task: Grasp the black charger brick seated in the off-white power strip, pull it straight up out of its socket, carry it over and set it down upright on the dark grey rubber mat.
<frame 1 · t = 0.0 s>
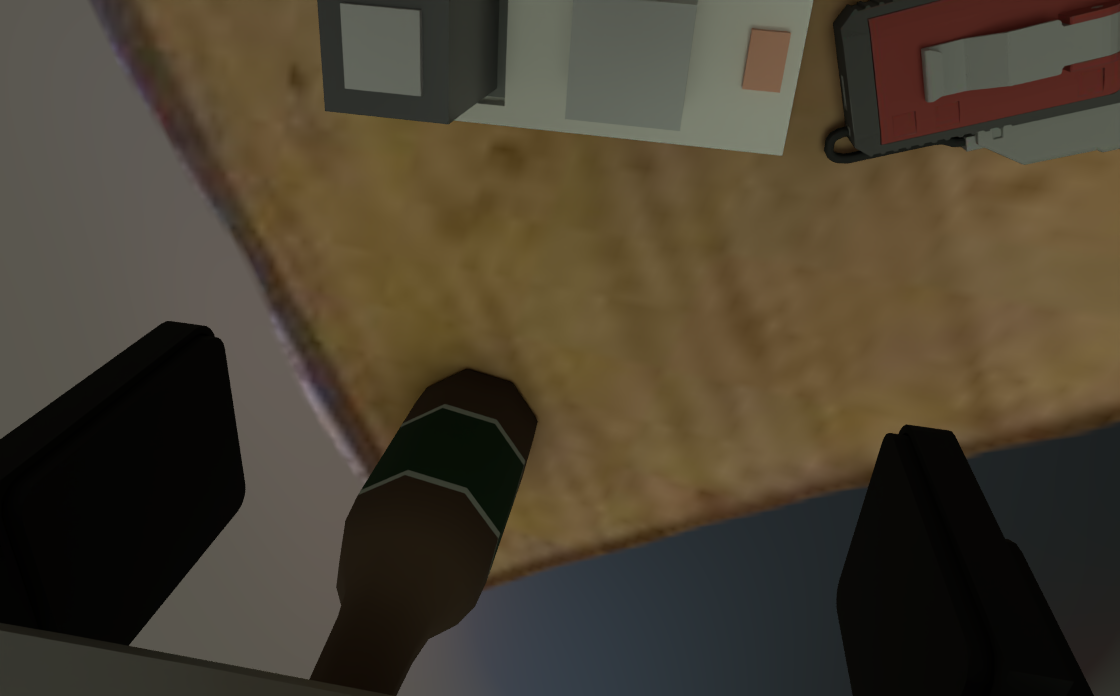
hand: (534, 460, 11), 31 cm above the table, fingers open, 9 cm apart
walkie-talkie: (1047, 51, 36), on the table
charger: (445, 26, 37), point 2 cm above the table, touching power strip
beer bottle: (480, 418, 50), on the table
power strip: (580, 33, 38), on the table
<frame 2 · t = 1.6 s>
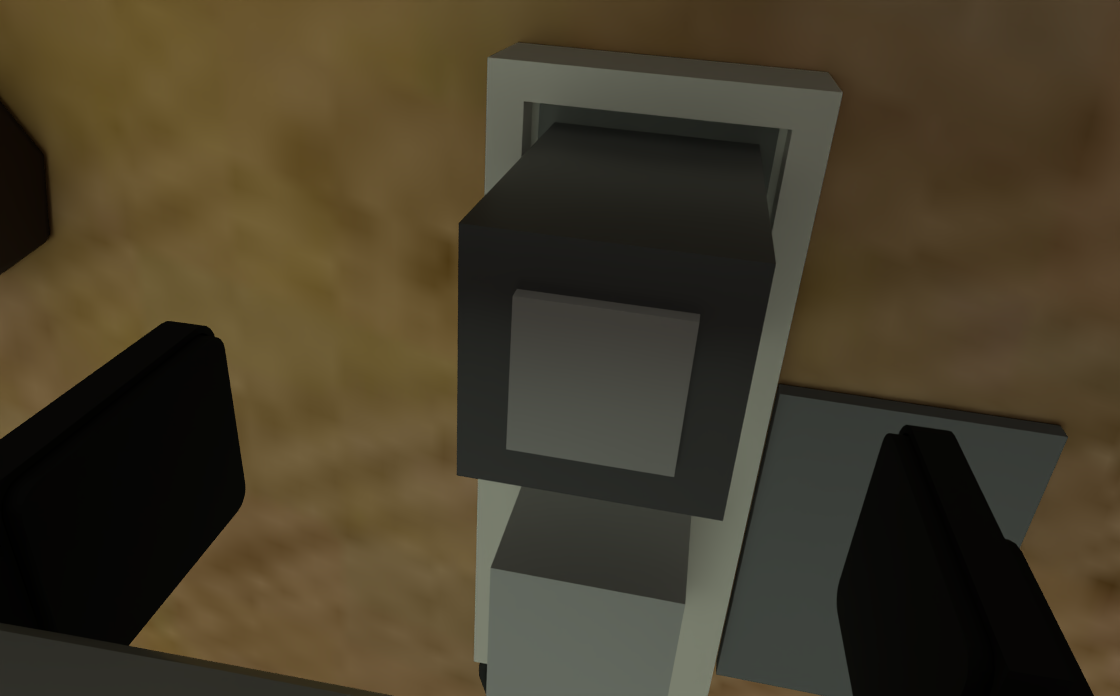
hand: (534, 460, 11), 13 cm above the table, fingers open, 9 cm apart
mat: (866, 558, 26), on the table
charger: (643, 230, 21), point 2 cm above the table, touching power strip
power strip: (627, 389, 25), on the table
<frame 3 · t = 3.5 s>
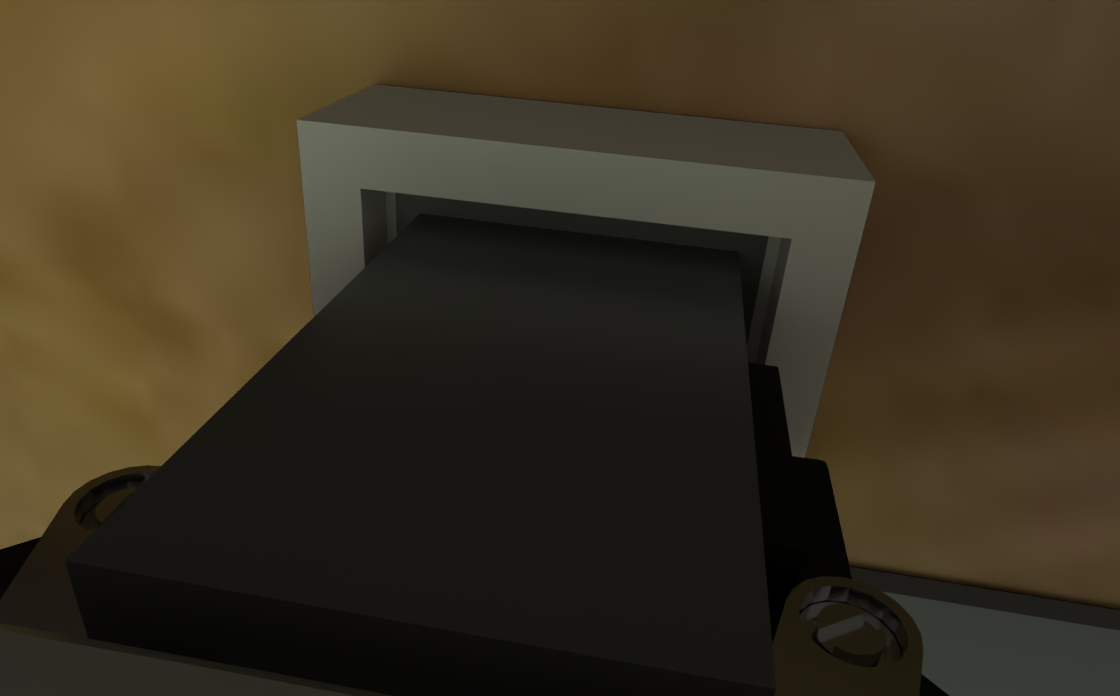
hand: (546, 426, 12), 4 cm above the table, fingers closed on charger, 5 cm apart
charger: (564, 371, 14), point 2 cm above the table, touching gripper, power strip
power strip: (561, 554, 18), on the table
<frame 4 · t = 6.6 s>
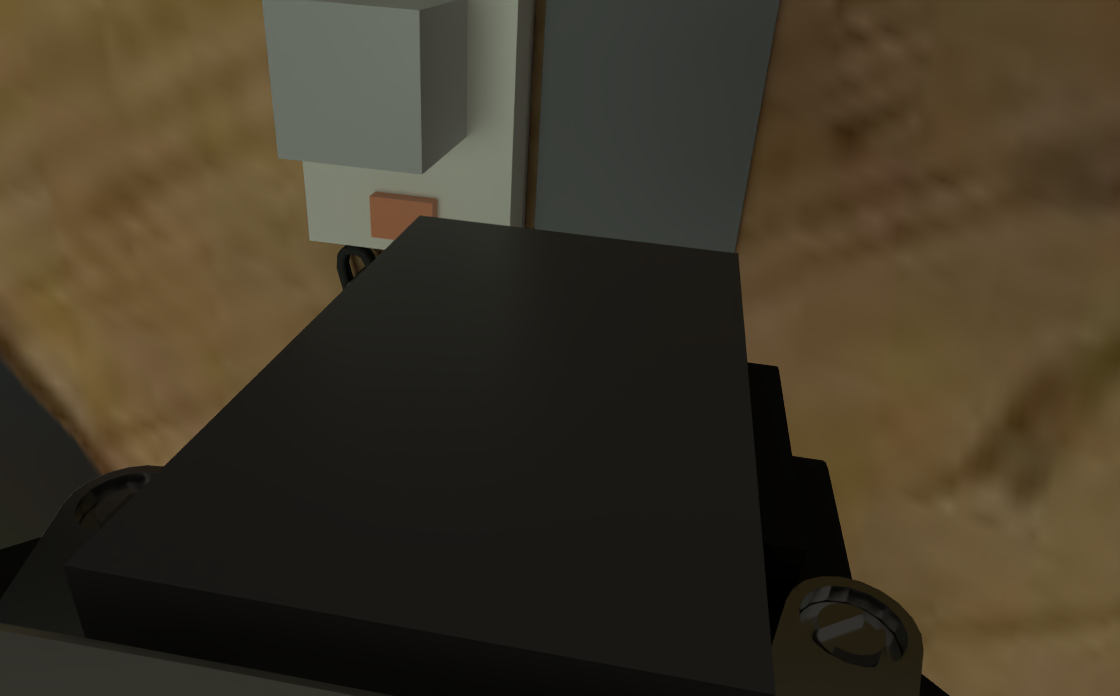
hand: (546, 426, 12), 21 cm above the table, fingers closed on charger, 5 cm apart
mat: (646, 128, 30), on the table
walkie-talkie: (450, 424, 39), on the table
charger: (564, 373, 14), point 19 cm above the table, touching gripper
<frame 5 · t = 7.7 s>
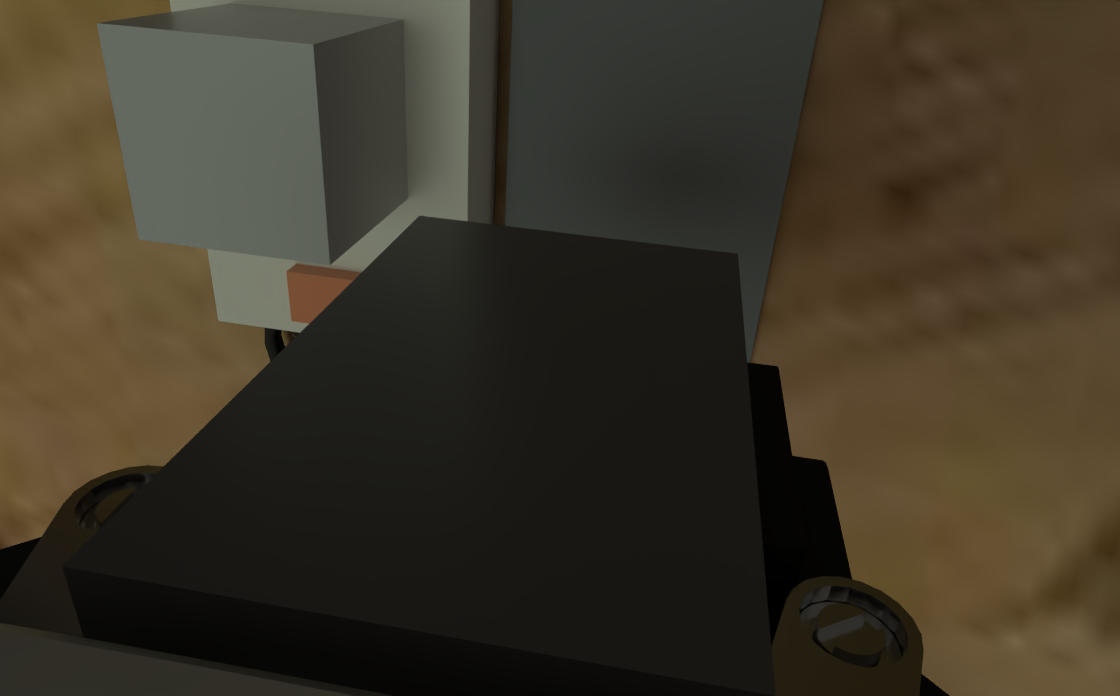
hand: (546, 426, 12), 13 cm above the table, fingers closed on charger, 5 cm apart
mat: (643, 183, 24), on the table
walkie-talkie: (410, 521, 32), on the table
charger: (564, 373, 14), point 12 cm above the table, touching gripper
when the fingers open (4 cm above the table, at t = 9.8 s): charger drops 2 cm, resting on mat.
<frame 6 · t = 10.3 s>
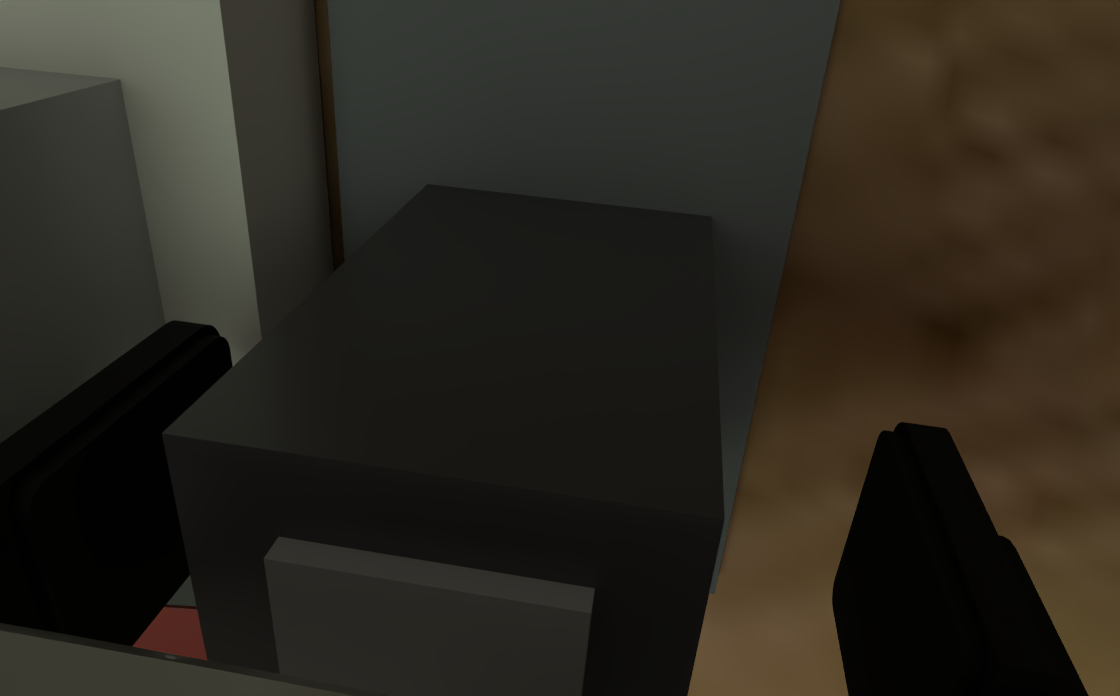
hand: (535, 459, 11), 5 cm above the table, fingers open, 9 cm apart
mat: (555, 312, 16), on the table
charger: (557, 328, 15), point 1 cm above the table, touching mat
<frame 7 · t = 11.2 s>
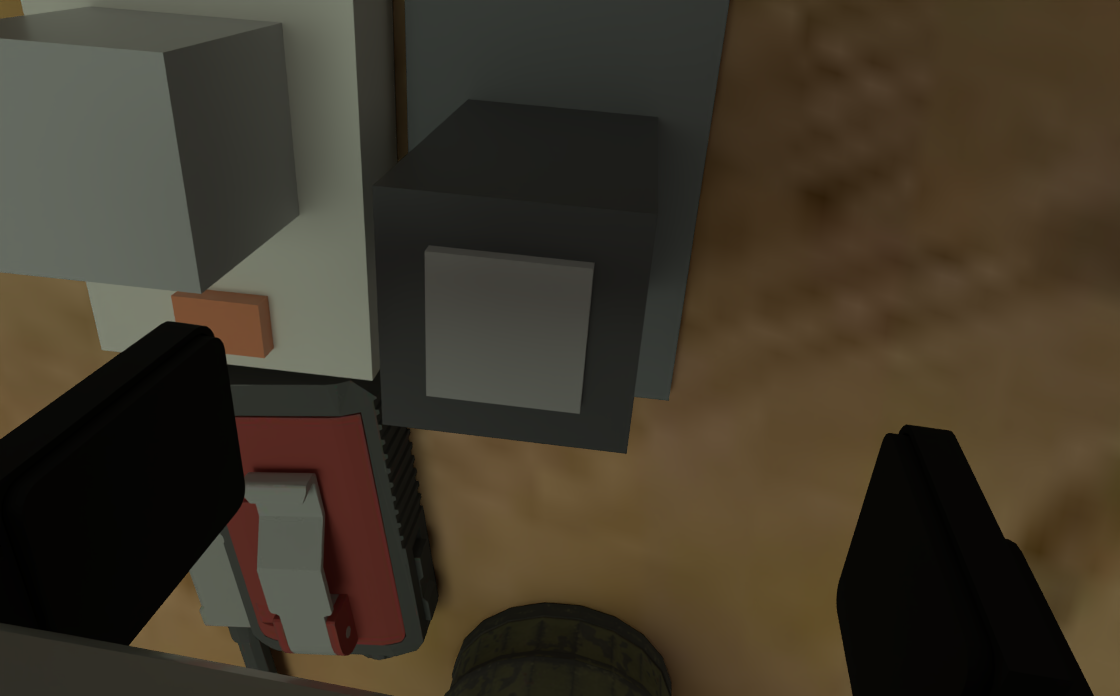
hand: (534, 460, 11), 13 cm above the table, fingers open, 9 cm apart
mat: (553, 192, 23), on the table
walkie-talkie: (328, 541, 31), on the table
charger: (556, 200, 22), point 1 cm above the table, touching mat
thermos: (560, 679, 32), on the table
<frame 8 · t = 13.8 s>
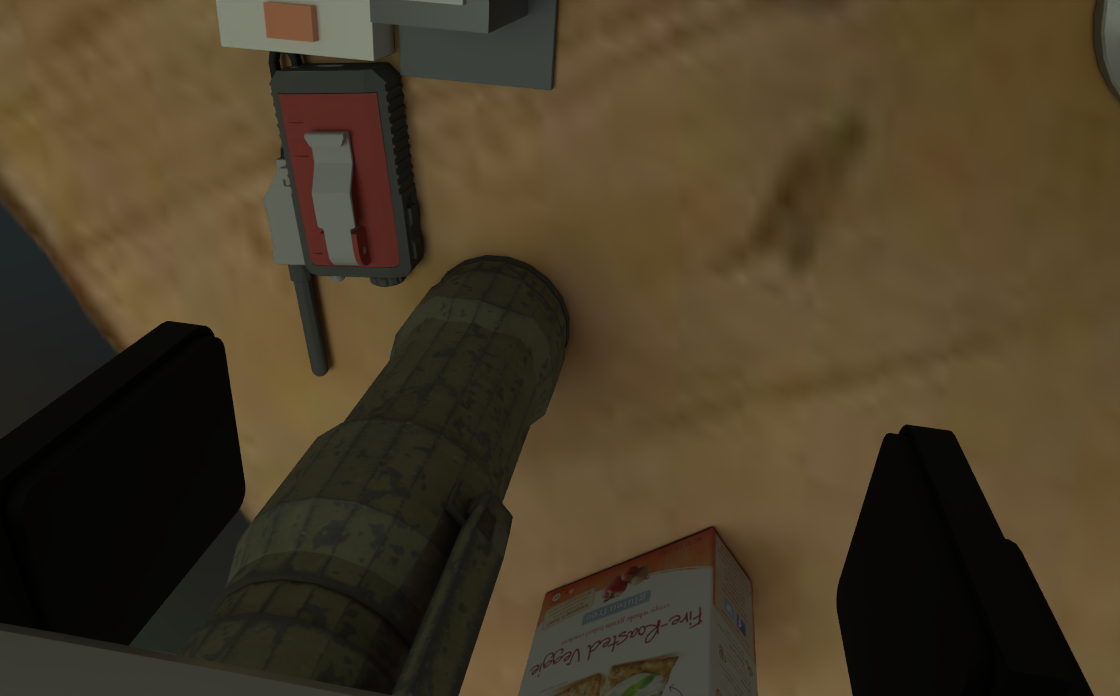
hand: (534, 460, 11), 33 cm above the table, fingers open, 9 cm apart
cracker box: (643, 583, 56), on the table
walkie-talkie: (355, 218, 48), on the table
thermos: (498, 321, 49), on the table
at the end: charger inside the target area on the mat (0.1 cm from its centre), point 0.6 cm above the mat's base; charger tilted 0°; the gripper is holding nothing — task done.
